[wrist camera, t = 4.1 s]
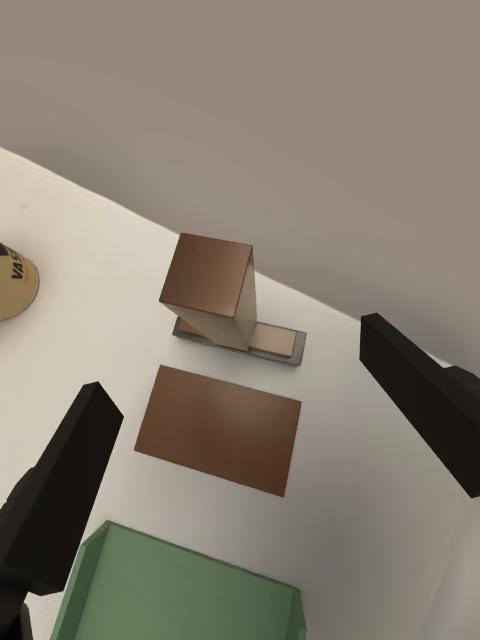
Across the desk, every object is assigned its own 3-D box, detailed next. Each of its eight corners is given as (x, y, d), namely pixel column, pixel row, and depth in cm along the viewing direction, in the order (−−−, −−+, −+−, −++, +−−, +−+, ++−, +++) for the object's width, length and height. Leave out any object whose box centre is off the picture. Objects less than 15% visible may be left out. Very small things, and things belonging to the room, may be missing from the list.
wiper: (303, 336, 24) (373, 266, 9) (297, 366, 24) (362, 346, 8) (187, 310, 26) (81, 213, 11) (178, 338, 25) (54, 278, 10)
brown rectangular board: (301, 401, 23) (301, 401, 23) (283, 497, 21) (283, 497, 21) (160, 365, 25) (160, 365, 25) (134, 450, 23) (133, 450, 23)
